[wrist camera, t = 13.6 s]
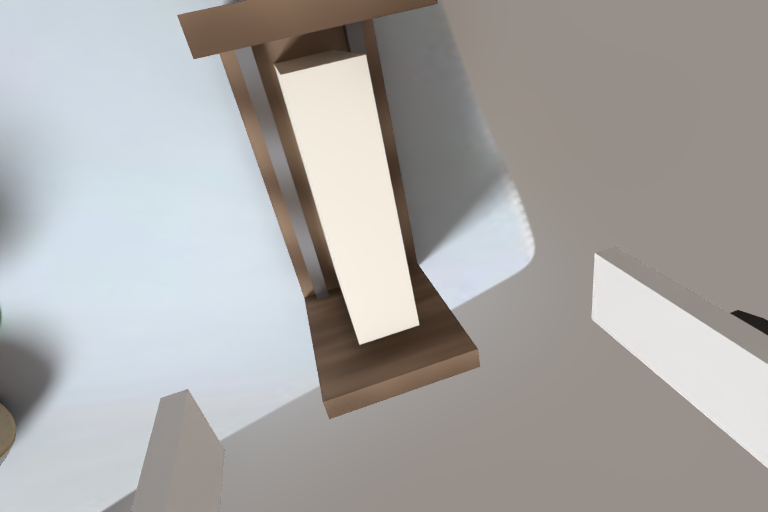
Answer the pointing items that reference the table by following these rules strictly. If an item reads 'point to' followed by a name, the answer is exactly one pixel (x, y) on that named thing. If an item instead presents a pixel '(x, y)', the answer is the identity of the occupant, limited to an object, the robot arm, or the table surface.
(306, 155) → the cream rectangular block
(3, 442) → the ceramic mug
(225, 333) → the table surface
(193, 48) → the brown wooden frame
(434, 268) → the table surface
